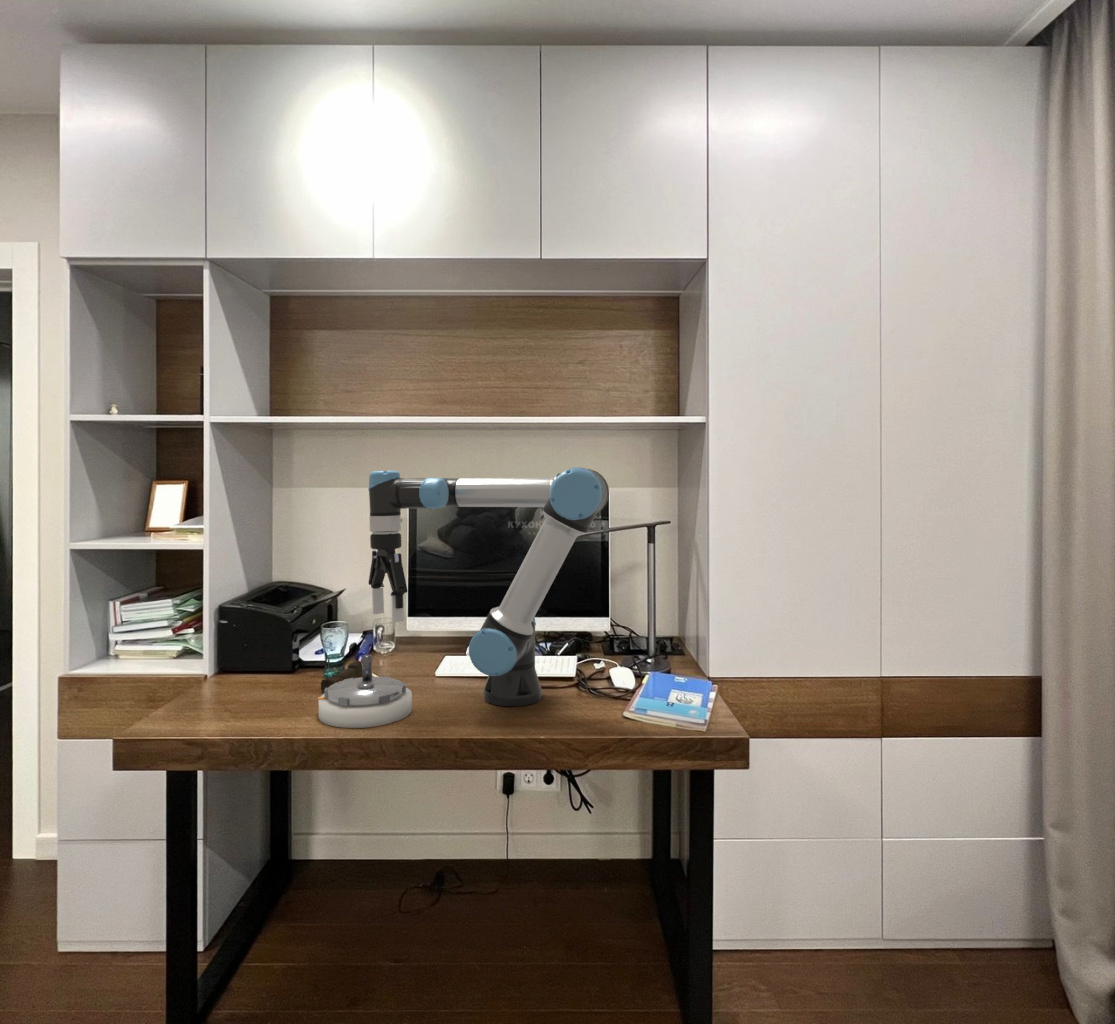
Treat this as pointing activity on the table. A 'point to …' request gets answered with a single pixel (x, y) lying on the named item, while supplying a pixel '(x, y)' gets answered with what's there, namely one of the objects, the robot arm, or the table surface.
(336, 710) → the housing
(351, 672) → the hand tool
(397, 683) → the grey disc with handle
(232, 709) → the table surface
